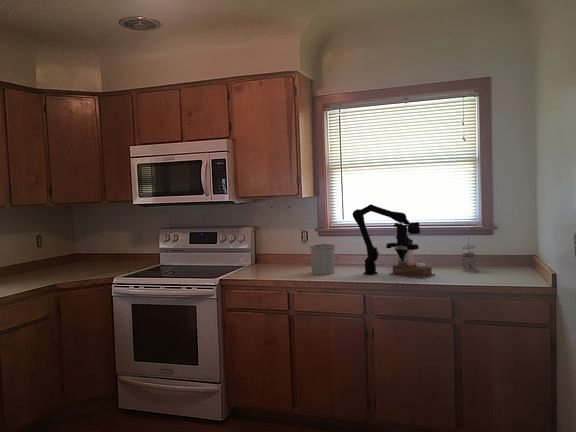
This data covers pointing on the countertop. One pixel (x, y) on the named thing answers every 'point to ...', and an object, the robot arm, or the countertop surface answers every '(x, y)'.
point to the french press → (468, 258)
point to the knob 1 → (402, 263)
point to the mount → (412, 271)
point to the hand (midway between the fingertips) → (402, 260)
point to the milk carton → (408, 256)
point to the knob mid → (411, 264)
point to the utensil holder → (322, 259)
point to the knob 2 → (420, 265)
